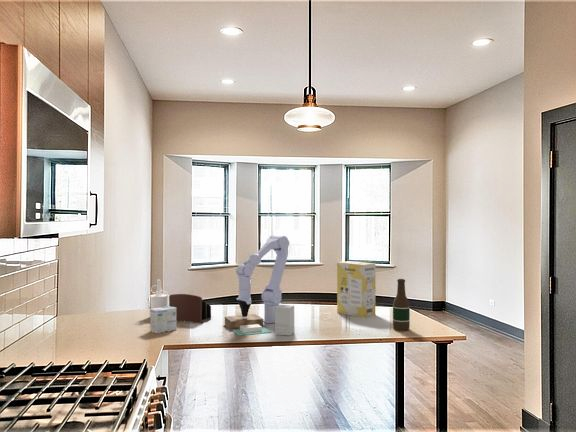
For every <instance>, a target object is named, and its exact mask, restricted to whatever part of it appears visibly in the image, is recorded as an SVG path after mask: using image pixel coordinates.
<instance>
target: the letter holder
mask: <svg viewBox="0 0 576 432" xmlns="http://www.w3.org/2000/svg"><path fill="white" fill-rule="evenodd" d="M169 295H170V296H169V306H171V307H176V322H184V321H185V322H186V323H188V322H189V323H195V324H197V323H198V324H202V323H203V324H204V322H205V323H206V322H207V321H210V320H212V306H211V304H209V303H207V301H205V300H203V298H202V297H201V296H198V295H194V294H187V293H186V294H185V293H175V294H174V293H173V294H169Z"/></svg>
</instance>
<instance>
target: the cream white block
mask: <svg viewBox="0 0 576 432" xmlns="http://www.w3.org/2000/svg"><path fill="white" fill-rule="evenodd" d="M240 330H241V331H242V332H243V333H247V332H257V331H262V326H260V325H259V324H254V325H242V326H240Z"/></svg>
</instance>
